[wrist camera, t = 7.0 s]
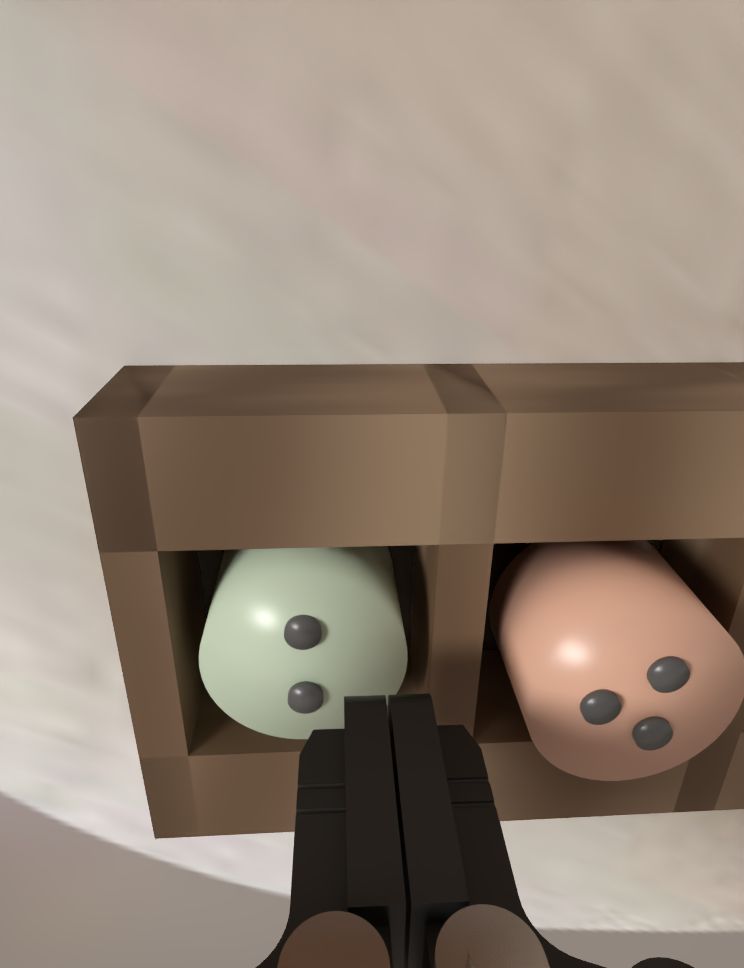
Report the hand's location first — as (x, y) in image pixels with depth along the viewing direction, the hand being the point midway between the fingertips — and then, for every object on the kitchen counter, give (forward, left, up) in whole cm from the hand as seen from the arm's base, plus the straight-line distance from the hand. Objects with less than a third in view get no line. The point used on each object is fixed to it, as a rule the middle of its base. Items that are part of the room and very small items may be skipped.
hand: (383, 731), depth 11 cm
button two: (+1, 0, -5) cm, 5 cm away
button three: (-5, 0, -3) cm, 6 cm away
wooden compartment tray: (-5, 0, -5) cm, 7 cm away
